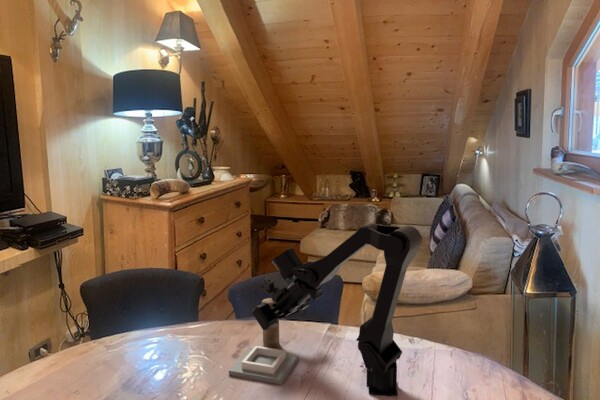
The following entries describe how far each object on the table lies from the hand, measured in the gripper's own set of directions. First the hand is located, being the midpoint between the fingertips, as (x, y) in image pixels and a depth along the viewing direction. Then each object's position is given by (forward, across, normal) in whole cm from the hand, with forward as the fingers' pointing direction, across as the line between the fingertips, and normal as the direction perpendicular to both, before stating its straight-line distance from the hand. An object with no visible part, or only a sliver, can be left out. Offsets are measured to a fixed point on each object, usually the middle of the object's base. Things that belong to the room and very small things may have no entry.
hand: (267, 321), depth 126 cm
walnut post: (+4, 0, +6) cm, 7 cm away
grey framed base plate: (-1, +10, +10) cm, 14 cm away
